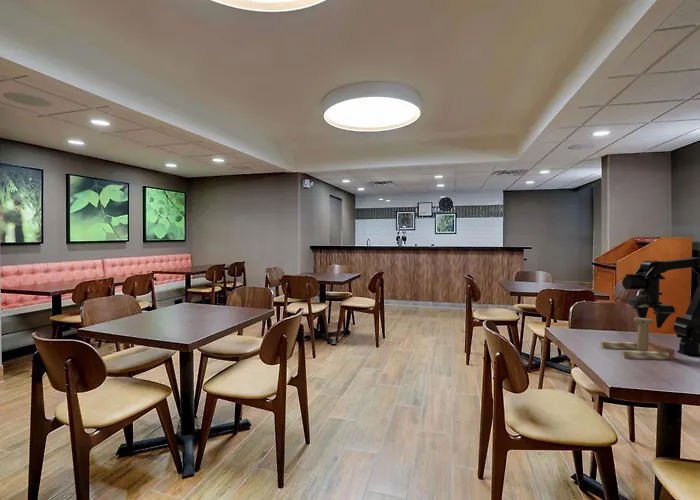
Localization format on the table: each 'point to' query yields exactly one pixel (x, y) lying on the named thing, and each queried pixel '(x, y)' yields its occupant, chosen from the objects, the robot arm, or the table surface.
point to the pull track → (654, 348)
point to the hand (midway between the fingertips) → (650, 325)
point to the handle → (643, 333)
